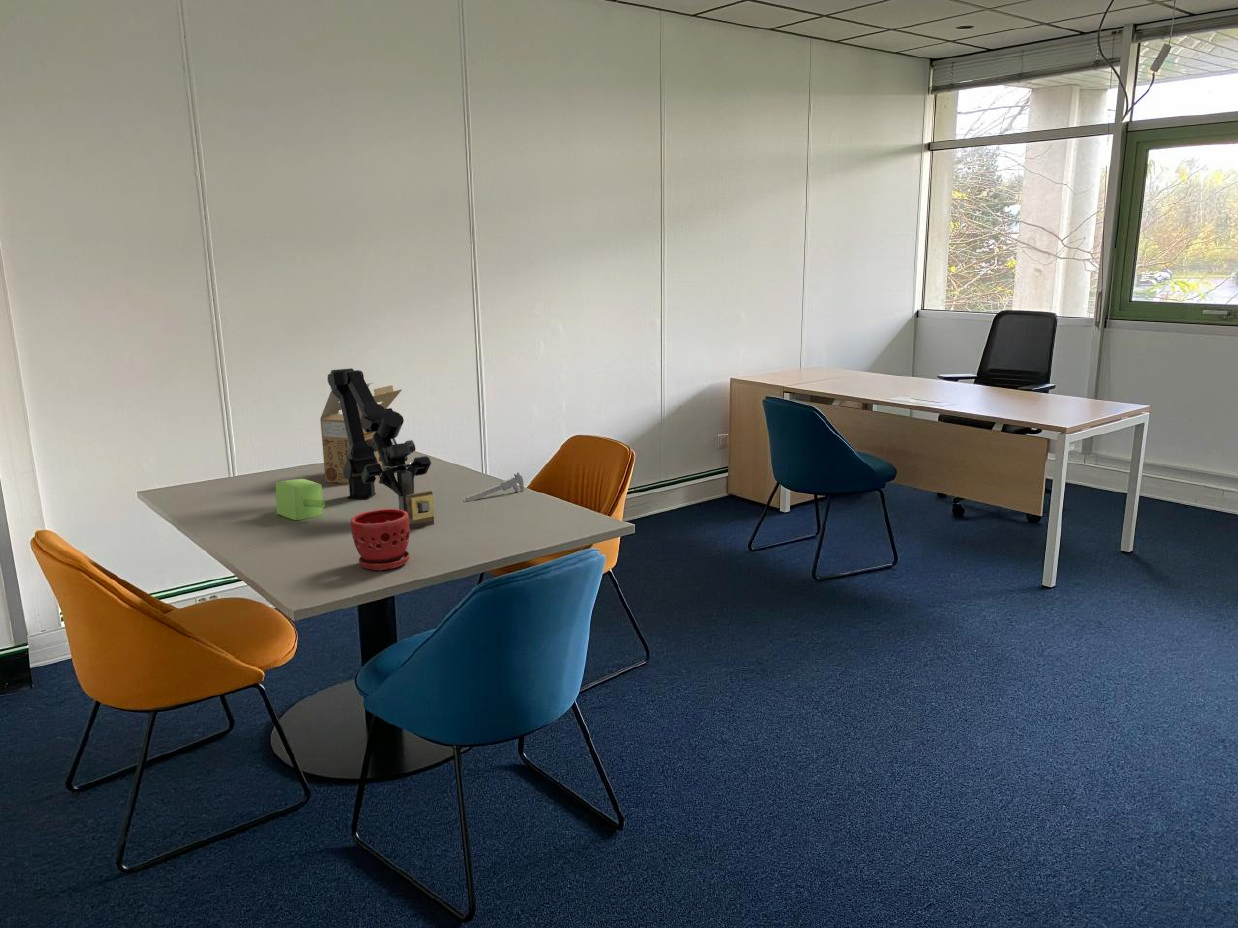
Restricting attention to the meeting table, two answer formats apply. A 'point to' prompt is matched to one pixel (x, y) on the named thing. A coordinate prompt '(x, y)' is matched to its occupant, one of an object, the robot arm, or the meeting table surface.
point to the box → (345, 433)
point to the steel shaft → (408, 491)
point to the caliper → (500, 488)
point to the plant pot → (381, 538)
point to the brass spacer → (414, 506)
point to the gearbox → (299, 499)
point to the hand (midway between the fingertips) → (407, 494)
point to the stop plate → (419, 521)
